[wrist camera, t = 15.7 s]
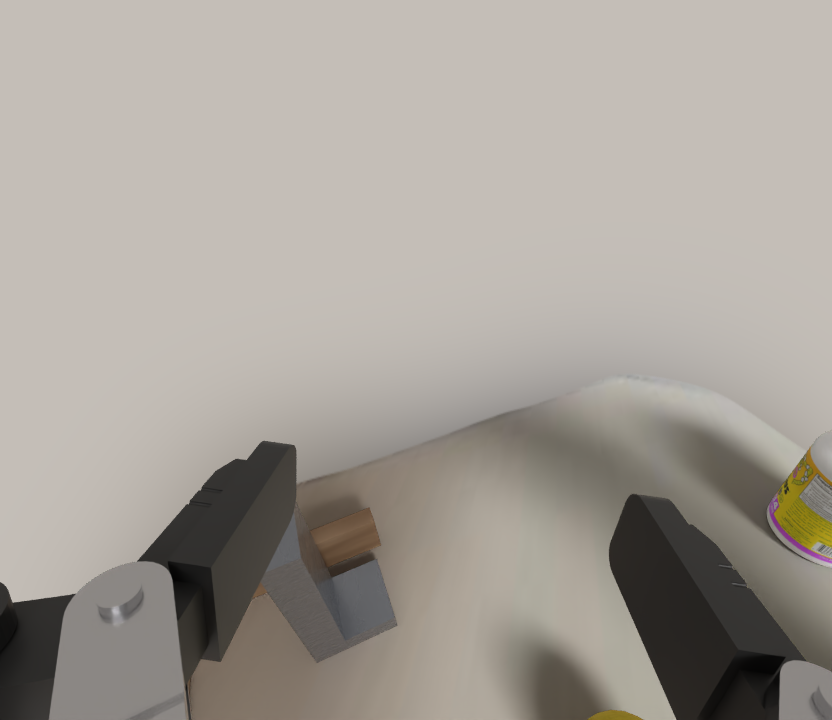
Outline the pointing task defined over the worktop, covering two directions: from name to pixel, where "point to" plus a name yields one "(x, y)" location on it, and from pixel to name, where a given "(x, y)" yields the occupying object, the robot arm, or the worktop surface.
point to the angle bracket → (325, 595)
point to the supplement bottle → (807, 505)
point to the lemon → (614, 716)
